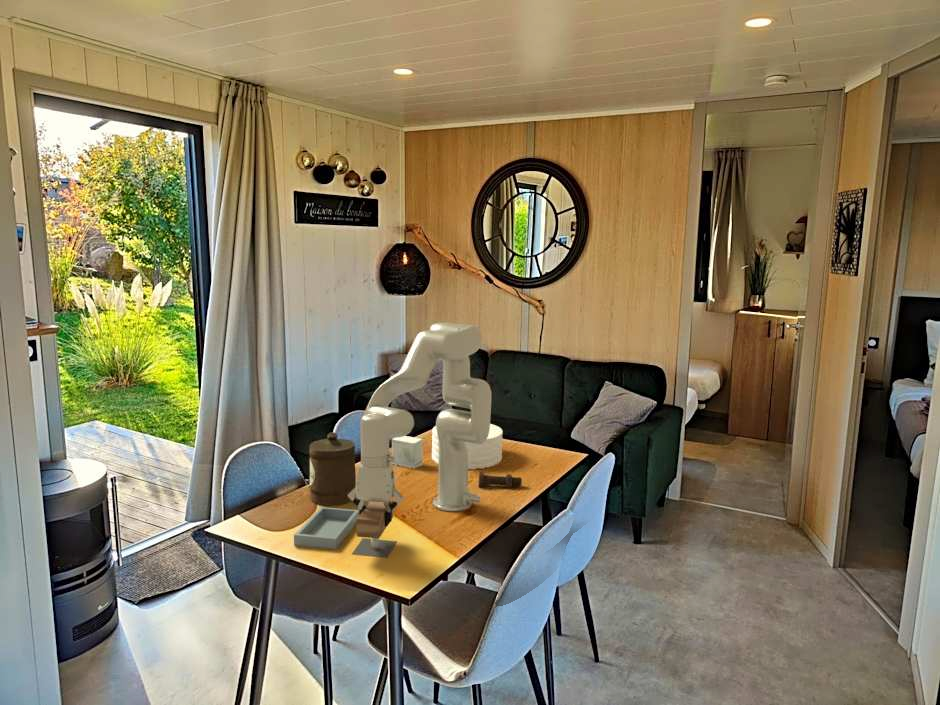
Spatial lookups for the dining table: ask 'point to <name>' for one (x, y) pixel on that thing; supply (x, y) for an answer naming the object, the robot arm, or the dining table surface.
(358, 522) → the brown rectangular block
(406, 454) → the skincare box
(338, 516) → the tray
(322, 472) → the wooden container
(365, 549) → the stud base
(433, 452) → the plate stack
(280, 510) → the dining table surface
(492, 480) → the bolt
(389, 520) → the robot arm
